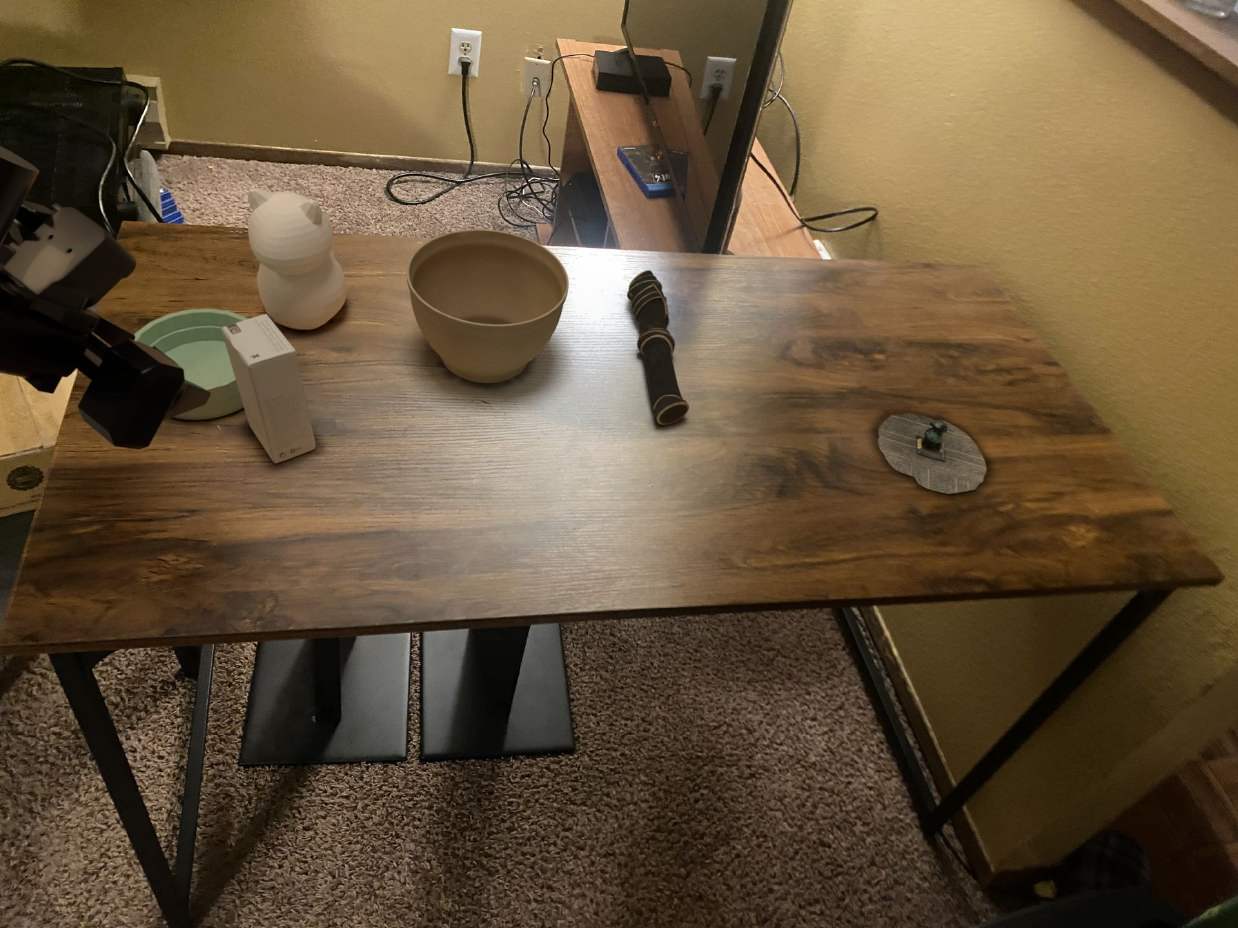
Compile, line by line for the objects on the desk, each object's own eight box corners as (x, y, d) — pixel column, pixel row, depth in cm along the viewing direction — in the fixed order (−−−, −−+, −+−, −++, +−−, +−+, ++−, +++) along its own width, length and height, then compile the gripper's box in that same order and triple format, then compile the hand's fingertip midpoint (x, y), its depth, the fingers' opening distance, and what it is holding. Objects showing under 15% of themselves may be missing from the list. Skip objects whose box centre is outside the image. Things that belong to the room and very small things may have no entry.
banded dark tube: (698, 409, 86) (670, 266, 102) (651, 398, 84) (630, 255, 101) (681, 436, 89) (657, 293, 105) (636, 426, 87) (618, 283, 104)
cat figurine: (245, 333, 88) (217, 206, 77) (291, 268, 97) (272, 145, 86) (329, 349, 88) (313, 225, 78) (368, 283, 97) (358, 163, 86)
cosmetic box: (318, 449, 79) (302, 350, 70) (271, 467, 77) (249, 367, 68) (289, 409, 82) (270, 310, 73) (244, 426, 80) (218, 325, 71)
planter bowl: (406, 405, 85) (402, 320, 77) (413, 307, 95) (410, 224, 87) (564, 409, 88) (575, 328, 80) (553, 314, 98) (562, 234, 90)
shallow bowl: (129, 426, 77) (117, 395, 75) (143, 342, 85) (132, 311, 82) (270, 417, 81) (264, 386, 78) (271, 336, 89) (265, 306, 86)
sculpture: (857, 421, 94) (916, 375, 91) (891, 453, 100) (946, 410, 98) (914, 497, 86) (980, 449, 83) (946, 526, 92) (1009, 482, 90)
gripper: (112, 265, 46) (301, 334, 61) (-70, 134, 52) (143, 226, 67) (20, 438, 47) (228, 464, 62) (-149, 290, 53) (78, 346, 68)
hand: (168, 368), depth 64 cm, fingers open, 9 cm apart
